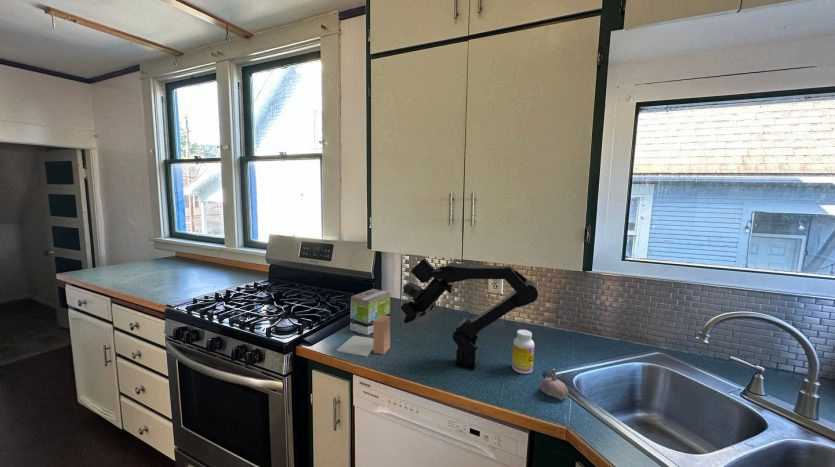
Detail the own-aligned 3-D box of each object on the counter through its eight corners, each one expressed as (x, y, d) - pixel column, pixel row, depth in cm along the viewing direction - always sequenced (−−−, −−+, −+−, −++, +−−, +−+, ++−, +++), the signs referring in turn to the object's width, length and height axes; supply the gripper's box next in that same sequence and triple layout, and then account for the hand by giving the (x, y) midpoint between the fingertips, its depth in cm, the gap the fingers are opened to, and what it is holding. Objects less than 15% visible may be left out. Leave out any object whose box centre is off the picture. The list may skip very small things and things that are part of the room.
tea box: (368, 336, 138) (368, 300, 136) (349, 330, 143) (349, 296, 141) (390, 324, 151) (390, 291, 149) (372, 319, 156) (372, 287, 154)
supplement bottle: (529, 376, 110) (532, 338, 108) (509, 370, 113) (511, 333, 112) (534, 367, 115) (537, 331, 114) (515, 362, 119) (517, 326, 117)
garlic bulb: (534, 389, 103) (536, 364, 102) (555, 385, 105) (556, 361, 104) (551, 404, 96) (553, 377, 95) (573, 400, 98) (575, 373, 97)
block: (390, 347, 129) (390, 316, 127) (383, 354, 123) (383, 322, 121) (380, 345, 130) (380, 315, 128) (373, 352, 124) (373, 320, 123)
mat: (381, 341, 133) (381, 339, 133) (366, 356, 121) (366, 355, 121) (353, 336, 137) (353, 335, 137) (336, 351, 125) (336, 349, 125)
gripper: (427, 272, 129) (402, 300, 133) (404, 278, 112) (376, 310, 116) (447, 294, 125) (421, 322, 130) (428, 304, 108) (398, 336, 113)
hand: (404, 322), depth 122 cm, fingers closed
